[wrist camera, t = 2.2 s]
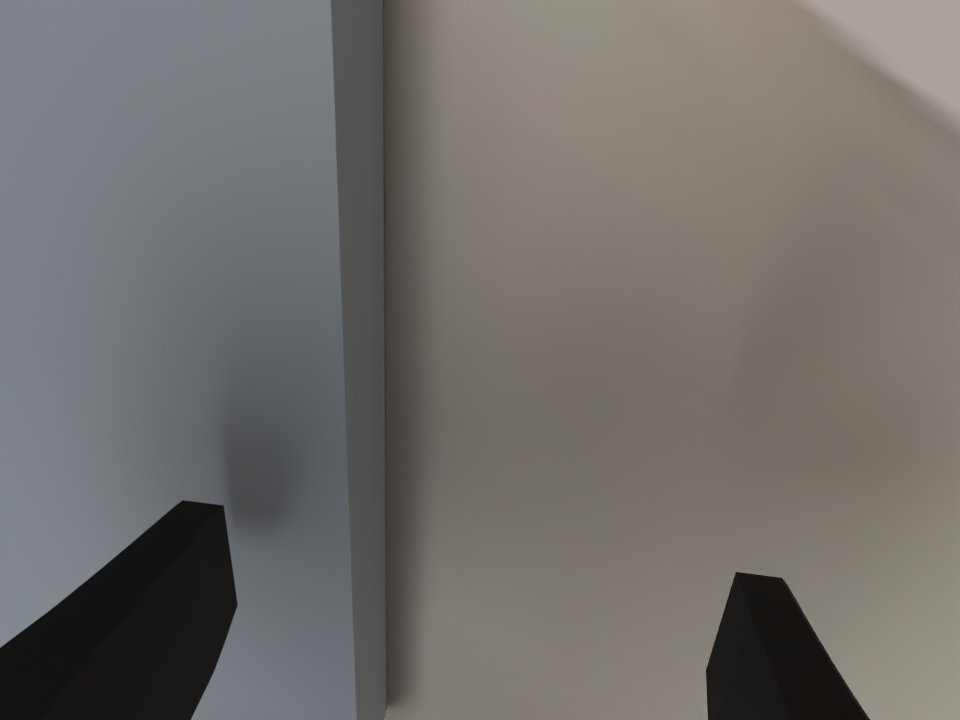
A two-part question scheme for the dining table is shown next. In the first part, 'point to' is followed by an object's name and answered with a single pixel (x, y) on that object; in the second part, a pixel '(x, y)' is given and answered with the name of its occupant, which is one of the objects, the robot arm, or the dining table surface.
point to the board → (201, 321)
